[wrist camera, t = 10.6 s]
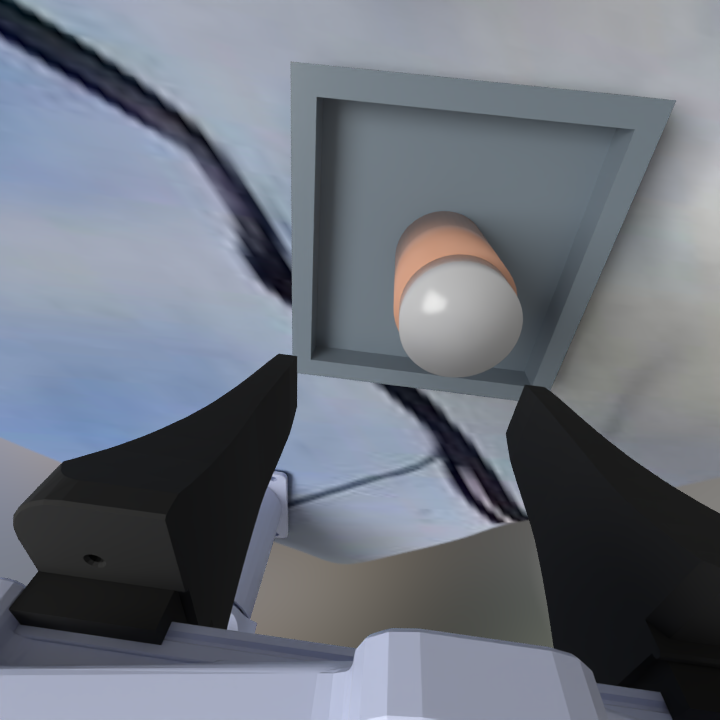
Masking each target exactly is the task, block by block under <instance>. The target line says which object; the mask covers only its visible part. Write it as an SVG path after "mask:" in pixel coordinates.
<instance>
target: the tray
mask: <svg viewBox="0 0 720 720" xmlns="http://www.w3.org/2000/svg"><path fill="white" fill-rule="evenodd" d="M675 102H676V100H667V99H657V98H647V97H638V96H628V95H618V94H608V93H598V92H588V91H578V90H568V89H558V88H548V87H538V86H528V85H518V84H508V83H498V82H488V81H478V80H468V79H458V78H448V77H439V76H429V75H419V74H409V73H399V72H389V71H379V70H369V69H359V68H349V67H339V66H329V65H319V64H309V63H299V62H291V201H292V348H293V356H297V373H301V374H309V375H317V376H325V377H333V378H341V379H349V380H357V381H365V382H373V383H381V384H389V385H397V386H405V387H413V388H421V389H429V390H437V391H444V392H452V393H460V394H468V395H476V396H484V397H492V398H500V399H508V400H516V401H519V398H520V396H521V393H522V390H523V388H524V385H533V386H541V387H545V388H547V389H548V390H549V391H550V389H551V387H552V385H553V383H554V380H555V378H556V376H557V373H558V371H559V369H560V366H561V364H562V362H563V360H564V357H565V355H566V353H567V350H568V348H569V346H570V343H571V341H572V339H573V337H574V334H575V332H576V330H577V327H578V325H579V323H580V321H581V318H582V316H583V314H584V311H585V309H586V307H587V304H588V302H589V300H590V298H591V295H592V293H593V291H594V288H595V286H596V284H597V281H598V279H599V277H600V275H601V272H602V270H603V268H604V265H605V263H606V261H607V258H608V256H609V254H610V252H611V249H612V247H613V245H614V242H615V240H616V238H617V236H618V233H619V231H620V229H621V226H622V224H623V222H624V219H625V217H626V215H627V213H628V210H629V208H630V206H631V203H632V201H633V199H634V196H635V194H636V192H637V190H638V187H639V185H640V183H641V180H642V178H643V176H644V174H645V171H646V169H647V167H648V164H649V162H650V160H651V157H652V155H653V153H654V151H655V148H656V146H657V144H658V141H659V139H660V137H661V134H662V132H663V130H664V128H665V125H666V123H667V121H668V118H669V116H670V114H671V111H672V109H673V107H674V105H675ZM437 211H451V212H456V213H459V214H462V215H464V216H465V217H467V218H469V219H470V220H471V221H473V222H474V223H475V224H476V226H477V227H478V228H479V229H480V231H481V232H482V234H483V235H484V237H485V238H486V239H487V241H488V242H489V244H490V245H491V247H492V248H493V250H494V251H495V252H496V254H497V255H498V257H499V258H500V260H501V261H502V262H503V264H504V265H505V267H506V268H507V270H508V271H509V273H510V274H511V276H512V278H513V280H514V283H515V285H516V290H517V297H518V299H519V301H520V304H521V307H522V313H523V324H522V330H521V333H520V336H519V339H518V341H517V343H516V345H515V346H514V348H513V349H512V351H511V352H510V353H509V354H508V355H507V356H506V357H505V358H504V359H503V360H502V361H501V362H500V363H498V364H497V365H495V366H494V367H492V368H491V369H489V370H487V371H484V372H482V373H479V374H476V375H472V376H468V377H457V378H453V377H444V376H439V375H435V374H432V373H430V372H428V371H426V370H424V369H422V368H421V367H419V366H418V365H417V364H415V363H414V362H413V361H412V360H411V359H410V357H409V356H408V355H407V353H406V352H405V350H404V348H403V346H402V343H401V340H400V335H399V331H398V328H397V326H396V323H395V318H394V273H395V252H396V247H397V244H398V241H399V239H400V237H401V235H402V234H403V232H404V231H405V230H406V229H407V227H408V226H409V225H410V224H412V223H413V222H414V221H415V220H417V219H418V218H420V217H422V216H424V215H426V214H429V213H433V212H437Z"/></svg>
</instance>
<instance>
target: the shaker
mask: <svg viewBox="0 0 720 720" xmlns="http://www.w3.org/2000/svg"><path fill="white" fill-rule="evenodd" d="M394 318H395V323H396V326H397V328H398V331H399V335H400V340H401V343H402V346H403V348H404V350H405V352H406V353H407V355H408V356H409V357H410V359H411V360H412V361H413V362H414V363H415V364H417V365H418V366H419V367H421V368H422V369H424V370H426V371H428V372H430V373H432V374H435V375H439V376H444V377H453V378H457V377H468V376H472V375H476V374H479V373H482V372H484V371H487V370H489V369H491V368H492V367H494V366H495V365H497V364H498V363H500V362H501V361H502V360H503V359H504V358H505V357H506V356H507V355H508V354H509V353H510V352H511V351H512V349H513V348H514V346H515V345H516V343H517V341H518V339H519V336H520V333H521V330H522V324H523V313H522V307H521V304H520V301H519V299H518V297H517V290H516V285H515V283H514V280H513V278H512V276H511V274H510V273H509V271H508V270H507V268H506V267H505V265H504V264H503V262H502V261H501V260H500V258H499V257H498V255H497V254H496V252H495V251H494V250H493V248H492V247H491V245H490V244H489V242H488V241H487V239H486V238H485V237H484V235H483V234H482V232H481V231H480V229H479V228H478V227H477V226H476V224H475V223H474V222H473V221H471V220H470V219H469V218H467V217H465V216H464V215H462V214H459V213H456V212H451V211H437V212H433V213H429V214H426V215H424V216H422V217H420V218H418V219H417V220H415V221H414V222H413V223H412V224H410V225H409V226H408V227H407V229H406V230H405V231H404V232H403V234H402V235H401V237H400V239H399V241H398V244H397V247H396V252H395V273H394Z"/></svg>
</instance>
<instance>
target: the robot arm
mask: <svg viewBox="0 0 720 720" xmlns="http://www.w3.org/2000/svg"><path fill="white" fill-rule="evenodd" d="M296 408H297V356H292V355H284V354H278V355H276V356H275V357H274V358H272V359H271V360H270V361H269V362H267V363H266V364H265V365H264V366H262V367H261V368H260V369H259V370H257V371H256V372H255V373H254V374H252V375H251V376H250V377H248V378H247V379H246V380H244V381H243V382H242V383H241V384H239V385H238V386H237V387H235V388H234V389H232V390H231V391H229V392H228V393H226V394H225V395H223V396H222V397H220V398H219V399H217V400H216V401H214V402H213V403H211V404H209V405H208V406H206V407H204V408H202V409H201V410H199V411H197V412H195V413H193V414H191V415H190V416H188V417H186V418H184V419H182V420H179V421H177V422H175V423H173V424H171V425H168V426H166V427H164V428H162V429H160V430H157V431H155V432H153V433H150V434H148V435H145V436H143V437H140V438H137V439H135V440H132V441H129V442H126V443H124V444H121V445H118V446H115V447H112V448H109V449H105V450H102V451H99V452H95V453H92V454H88V455H85V456H81V457H78V458H75V459H71V460H67V461H64V462H63V463H62V464H60V465H59V466H58V467H57V469H55V470H54V471H53V473H52V474H51V475H50V476H49V477H48V478H47V479H46V480H45V481H44V482H43V483H42V484H41V485H40V486H39V487H38V488H37V489H36V490H35V491H34V492H33V493H32V494H31V495H30V496H29V497H28V498H27V499H26V500H25V501H24V502H23V503H22V504H21V506H20V507H19V508H18V510H17V511H16V512H15V514H14V517H13V526H14V530H15V532H16V534H17V537H18V539H19V540H20V542H21V544H22V545H23V547H24V549H25V550H26V552H27V553H28V555H29V557H30V558H31V560H32V561H33V563H34V565H35V566H36V568H37V569H38V573H37V574H36V575H35V576H34V578H33V579H32V580H31V581H30V583H29V584H28V585H27V586H25V585H24V584H22V583H20V582H18V581H16V580H12V579H8V578H2V577H0V720H720V513H718V512H716V511H714V510H712V509H710V508H709V507H707V506H705V505H703V504H701V503H700V502H698V501H696V500H695V499H693V498H691V497H690V496H688V495H686V494H685V493H683V492H681V491H680V490H678V489H676V488H675V487H673V486H671V485H670V484H668V483H667V482H665V481H664V480H662V479H660V478H659V477H658V476H656V475H655V474H653V473H652V472H650V471H649V470H647V469H646V468H644V467H643V466H641V465H640V464H638V463H637V462H636V461H634V460H633V459H631V458H630V457H629V456H627V455H626V454H625V453H624V452H622V451H621V450H620V449H618V448H617V447H616V446H614V445H613V444H612V443H611V442H609V441H608V440H607V439H606V438H604V437H603V436H602V435H601V434H600V433H598V432H597V431H596V430H595V429H594V428H592V427H591V426H590V425H589V424H588V423H587V422H585V421H584V420H583V419H582V418H581V417H580V416H578V415H577V414H576V413H575V412H574V411H573V410H572V409H570V408H569V407H568V406H567V405H566V404H565V403H564V402H562V401H561V400H560V399H559V398H558V397H557V396H555V395H554V394H553V393H552V392H551V391H549V390H548V389H547V388H545V387H541V386H533V385H524V388H523V390H522V393H521V396H520V398H519V401H518V403H517V406H516V409H515V411H514V414H513V416H512V419H511V421H510V424H509V427H508V429H507V432H506V437H507V444H508V450H509V456H510V461H511V465H512V468H513V471H514V475H515V478H516V481H517V484H518V487H519V490H520V493H521V497H522V500H523V503H524V506H525V509H526V512H527V515H528V518H529V521H530V524H531V527H532V531H533V535H534V539H535V543H536V548H537V552H538V557H539V562H540V567H541V572H542V577H543V583H544V589H545V594H546V600H547V606H548V612H549V619H550V626H551V632H552V639H553V646H554V649H553V648H550V647H545V646H538V645H531V644H524V643H517V642H510V641H503V640H496V639H489V638H482V637H475V636H468V635H461V634H454V633H447V632H440V631H433V630H426V629H419V628H390V629H386V630H383V631H380V632H376V633H373V634H370V635H369V636H368V637H367V638H366V639H365V640H364V641H363V642H362V643H361V644H360V645H359V647H358V648H350V647H343V646H336V645H329V644H322V643H315V642H308V641H302V640H295V639H287V638H281V637H274V636H267V635H260V634H254V633H255V630H256V626H257V623H256V622H254V621H252V620H250V618H251V614H252V611H253V608H254V604H255V601H256V598H257V594H258V591H259V587H260V584H261V581H262V578H263V574H264V571H265V568H266V565H267V561H268V558H269V554H270V551H271V548H272V545H273V541H274V538H275V537H276V538H286V537H287V536H288V533H289V529H288V477H287V475H286V474H285V473H283V472H277V471H274V470H275V468H276V466H277V463H278V461H279V458H280V456H281V454H282V451H283V449H284V446H285V444H286V441H287V439H288V436H289V434H290V431H291V427H292V424H293V420H294V416H295V412H296Z"/></svg>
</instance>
